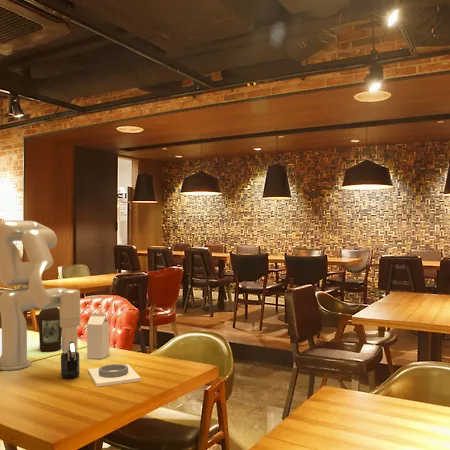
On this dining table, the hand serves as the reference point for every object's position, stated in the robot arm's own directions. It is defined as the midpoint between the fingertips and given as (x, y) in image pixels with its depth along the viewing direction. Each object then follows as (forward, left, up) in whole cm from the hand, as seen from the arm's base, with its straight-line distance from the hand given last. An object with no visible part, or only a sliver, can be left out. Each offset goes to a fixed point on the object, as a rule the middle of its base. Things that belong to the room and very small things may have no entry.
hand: (70, 367), depth 188 cm
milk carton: (+15, +25, -4) cm, 29 cm away
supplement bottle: (0, 0, -4) cm, 4 cm away
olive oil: (-3, +48, -4) cm, 48 cm away
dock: (+15, -7, -3) cm, 17 cm away
